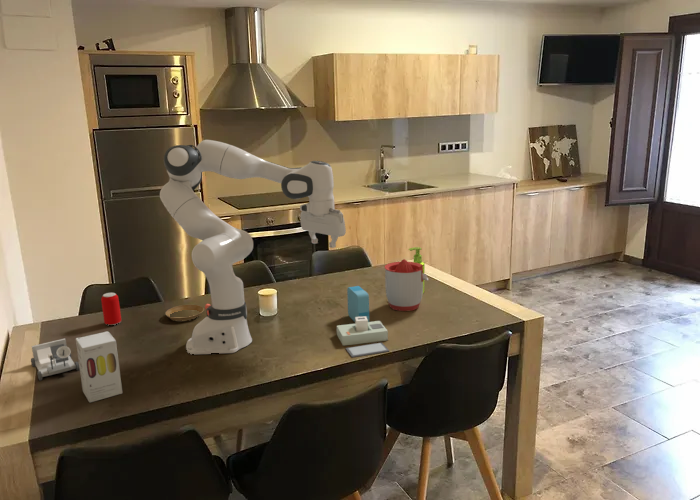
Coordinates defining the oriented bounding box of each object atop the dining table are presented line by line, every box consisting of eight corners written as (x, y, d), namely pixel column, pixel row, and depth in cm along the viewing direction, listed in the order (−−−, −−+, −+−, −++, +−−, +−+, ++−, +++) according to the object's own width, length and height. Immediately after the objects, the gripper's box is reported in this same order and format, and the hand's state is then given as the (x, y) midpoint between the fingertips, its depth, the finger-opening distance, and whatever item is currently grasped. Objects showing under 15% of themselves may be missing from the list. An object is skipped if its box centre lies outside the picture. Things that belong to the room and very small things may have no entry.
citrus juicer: (427, 314, 221) (428, 265, 217) (383, 313, 224) (382, 264, 219) (428, 301, 236) (428, 254, 231) (386, 299, 239) (386, 253, 234)
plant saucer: (209, 310, 233) (209, 304, 232) (196, 324, 219) (195, 317, 218) (175, 310, 235) (174, 304, 234) (159, 323, 220) (159, 317, 220)
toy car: (77, 345, 177) (36, 356, 171) (82, 374, 180) (41, 385, 173) (65, 329, 191) (26, 337, 185) (69, 355, 194) (31, 365, 187)
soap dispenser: (406, 291, 249) (406, 247, 244) (420, 289, 251) (421, 245, 246) (411, 295, 244) (411, 250, 239) (426, 293, 246) (426, 248, 241)
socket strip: (343, 345, 195) (342, 335, 194) (336, 334, 204) (336, 325, 203) (387, 340, 198) (387, 330, 197) (379, 329, 208) (379, 320, 207)
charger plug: (356, 339, 200) (356, 320, 198) (355, 335, 203) (355, 316, 202) (368, 339, 200) (367, 320, 198) (366, 334, 204) (366, 315, 202)
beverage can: (107, 328, 217) (103, 298, 214) (102, 323, 221) (98, 294, 218) (124, 323, 220) (120, 294, 217) (118, 319, 225) (114, 290, 222)
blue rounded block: (369, 324, 213) (369, 293, 210) (358, 326, 212) (357, 295, 209) (358, 313, 224) (358, 284, 221) (347, 315, 223) (347, 286, 220)
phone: (352, 359, 186) (352, 356, 185) (345, 350, 192) (345, 347, 192) (389, 353, 189) (389, 350, 189) (381, 345, 196) (381, 342, 196)
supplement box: (89, 403, 161) (80, 348, 157) (81, 391, 168) (73, 338, 164) (124, 393, 166) (116, 339, 162) (115, 381, 174) (108, 329, 169)
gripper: (349, 209, 196) (350, 248, 200) (309, 203, 210) (311, 239, 214) (335, 211, 192) (337, 251, 195) (296, 205, 206) (298, 242, 209)
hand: (323, 245), depth 205 cm, fingers open, 8 cm apart
